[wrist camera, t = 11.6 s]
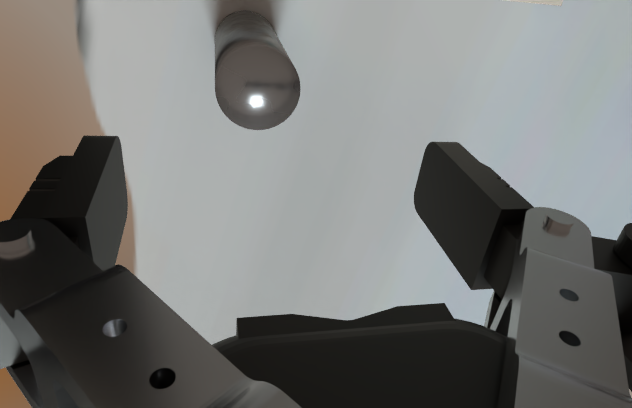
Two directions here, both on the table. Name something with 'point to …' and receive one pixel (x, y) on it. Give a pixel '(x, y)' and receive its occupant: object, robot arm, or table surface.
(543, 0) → the board
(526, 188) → the table surface
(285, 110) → the peg
